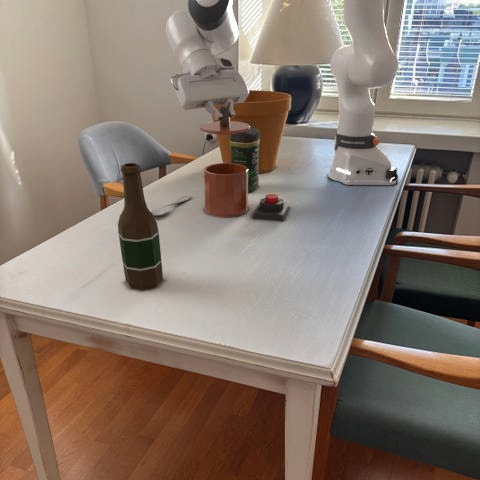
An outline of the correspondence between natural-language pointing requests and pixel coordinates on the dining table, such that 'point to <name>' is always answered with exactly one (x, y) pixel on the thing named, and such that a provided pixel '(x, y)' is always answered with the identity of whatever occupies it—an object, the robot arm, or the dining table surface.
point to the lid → (224, 125)
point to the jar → (226, 189)
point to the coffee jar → (247, 153)
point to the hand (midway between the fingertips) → (226, 117)
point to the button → (272, 198)
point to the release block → (271, 210)
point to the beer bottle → (138, 234)
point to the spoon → (162, 210)
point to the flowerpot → (260, 124)
